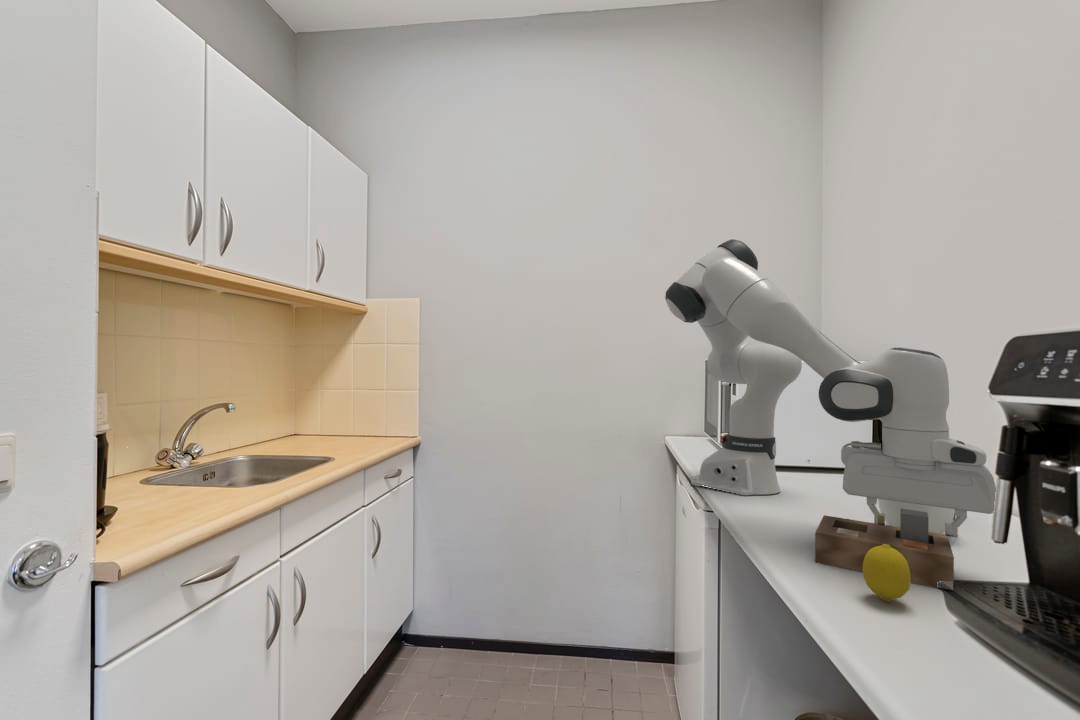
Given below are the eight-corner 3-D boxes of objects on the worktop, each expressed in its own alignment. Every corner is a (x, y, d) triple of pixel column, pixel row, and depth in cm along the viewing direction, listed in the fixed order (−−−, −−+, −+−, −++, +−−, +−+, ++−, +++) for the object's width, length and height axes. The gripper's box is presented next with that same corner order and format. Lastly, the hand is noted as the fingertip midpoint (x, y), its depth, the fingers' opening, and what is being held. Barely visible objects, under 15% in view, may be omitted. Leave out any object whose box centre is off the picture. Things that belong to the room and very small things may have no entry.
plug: (900, 568, 82) (900, 513, 82) (900, 561, 85) (900, 508, 85) (928, 573, 80) (928, 517, 80) (926, 566, 82) (927, 512, 83)
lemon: (853, 592, 72) (853, 537, 73) (889, 592, 73) (890, 537, 73) (881, 611, 67) (882, 551, 67) (921, 610, 67) (921, 551, 67)
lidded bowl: (870, 532, 99) (870, 477, 99) (883, 519, 108) (884, 468, 108) (952, 550, 90) (952, 488, 90) (959, 533, 99) (959, 478, 99)
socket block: (815, 561, 84) (815, 530, 84) (823, 541, 94) (824, 513, 94) (953, 591, 73) (953, 555, 73) (947, 565, 83) (947, 533, 83)
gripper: (839, 442, 86) (839, 522, 86) (999, 455, 74) (999, 549, 74) (842, 437, 91) (842, 513, 91) (993, 450, 79) (993, 537, 79)
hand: (914, 530), depth 82 cm, fingers open, 8 cm apart
